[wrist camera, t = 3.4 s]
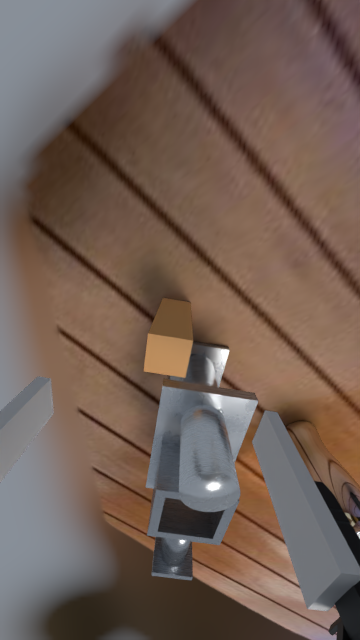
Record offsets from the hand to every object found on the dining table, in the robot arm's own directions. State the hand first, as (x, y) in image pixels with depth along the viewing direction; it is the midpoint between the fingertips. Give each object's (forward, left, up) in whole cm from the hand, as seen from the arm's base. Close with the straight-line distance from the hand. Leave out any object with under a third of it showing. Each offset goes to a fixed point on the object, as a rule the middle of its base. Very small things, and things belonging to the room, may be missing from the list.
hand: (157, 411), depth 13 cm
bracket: (+20, +5, -7) cm, 22 cm away
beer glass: (+19, +26, -19) cm, 37 cm away
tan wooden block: (0, 0, -18) cm, 18 cm away
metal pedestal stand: (+12, +5, -18) cm, 23 cm away
